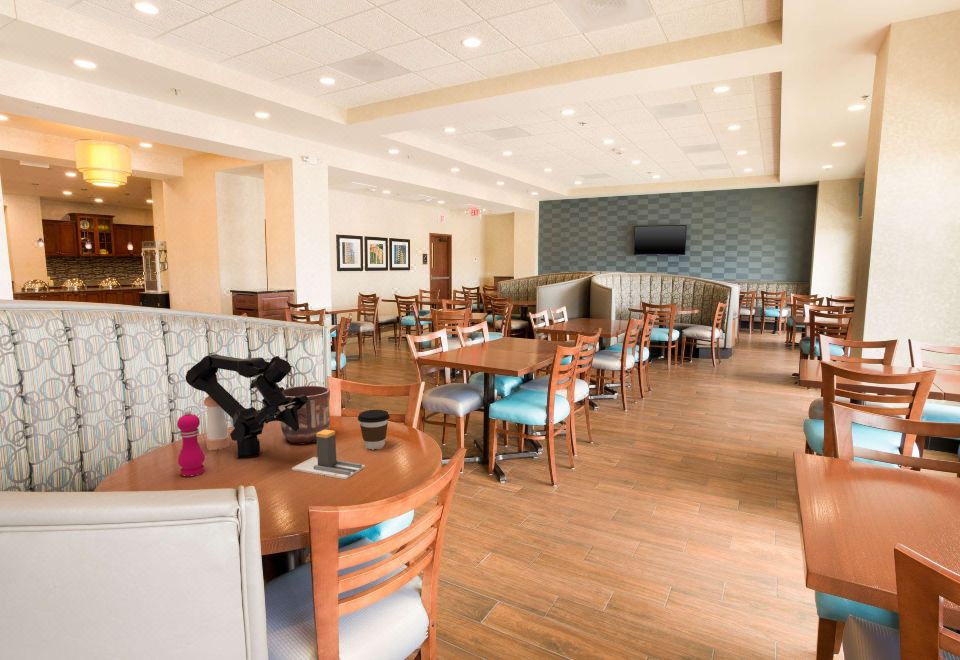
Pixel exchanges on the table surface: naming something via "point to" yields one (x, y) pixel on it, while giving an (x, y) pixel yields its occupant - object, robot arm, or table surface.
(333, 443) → the fader knob
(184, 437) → the pepper mill
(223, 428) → the pepper shaker
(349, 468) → the plate
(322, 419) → the pottery
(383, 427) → the coffee cup
